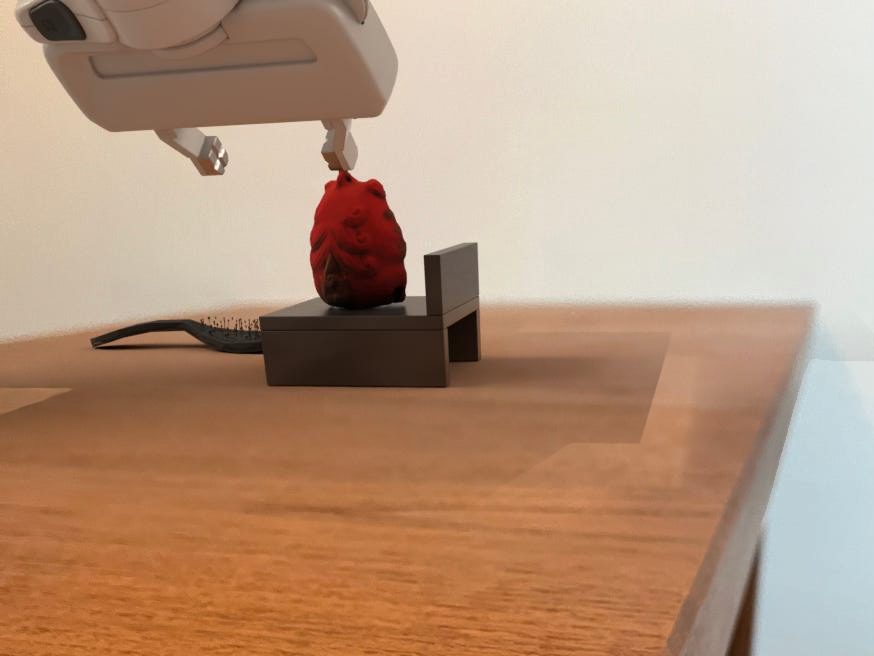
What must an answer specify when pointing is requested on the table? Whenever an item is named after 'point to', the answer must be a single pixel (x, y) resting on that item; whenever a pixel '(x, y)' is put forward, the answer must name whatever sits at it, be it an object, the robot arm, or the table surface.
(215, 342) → the hairbrush
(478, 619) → the table surface
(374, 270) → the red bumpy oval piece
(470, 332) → the brown miniature bench
